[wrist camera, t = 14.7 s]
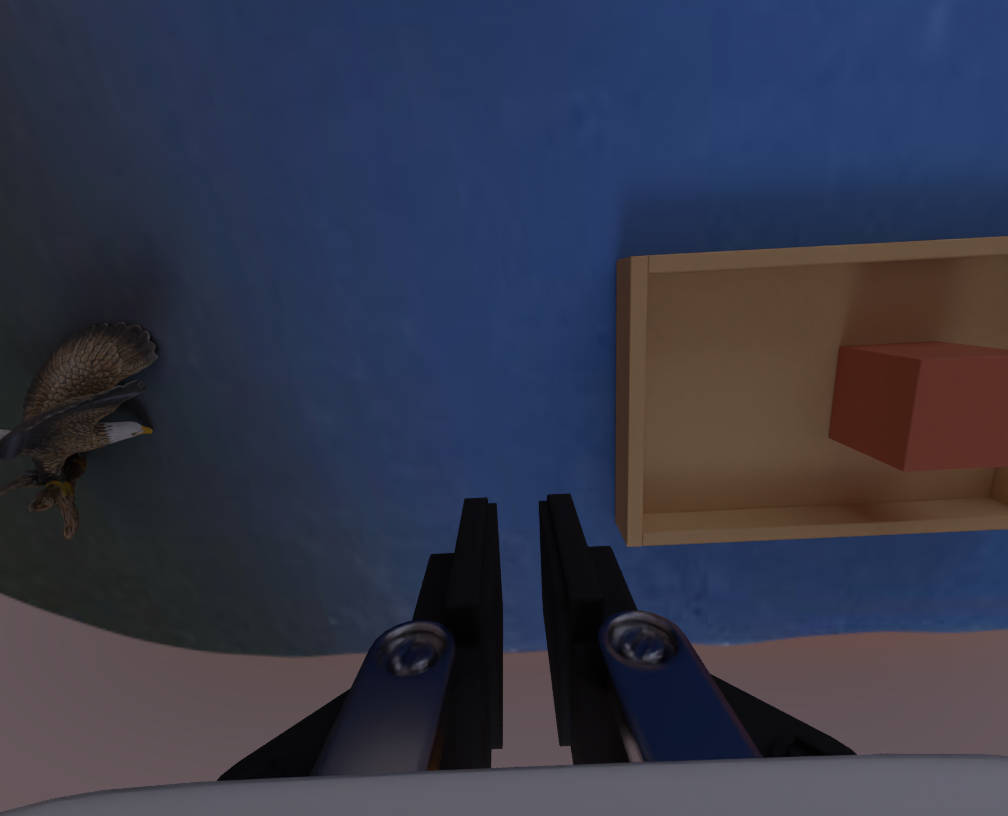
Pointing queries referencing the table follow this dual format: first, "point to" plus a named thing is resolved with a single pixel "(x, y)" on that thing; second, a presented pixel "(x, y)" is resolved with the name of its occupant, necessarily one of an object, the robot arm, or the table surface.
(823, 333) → the tray
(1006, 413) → the block
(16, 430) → the eagle figurine
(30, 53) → the table surface
